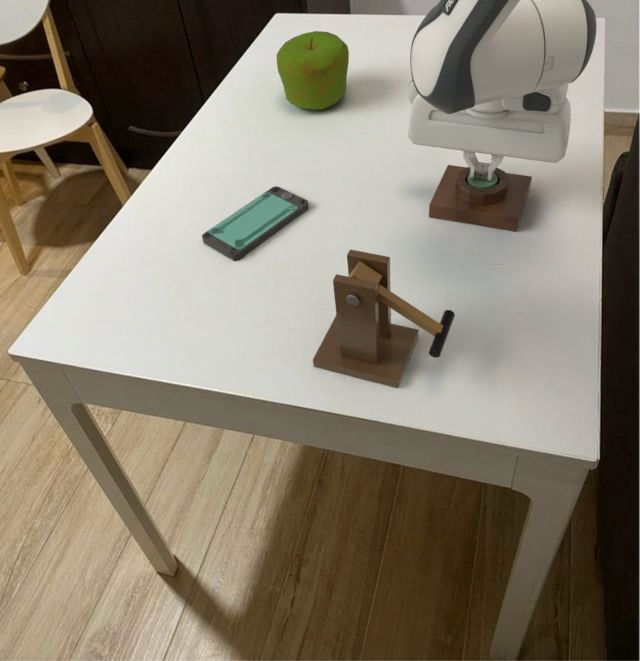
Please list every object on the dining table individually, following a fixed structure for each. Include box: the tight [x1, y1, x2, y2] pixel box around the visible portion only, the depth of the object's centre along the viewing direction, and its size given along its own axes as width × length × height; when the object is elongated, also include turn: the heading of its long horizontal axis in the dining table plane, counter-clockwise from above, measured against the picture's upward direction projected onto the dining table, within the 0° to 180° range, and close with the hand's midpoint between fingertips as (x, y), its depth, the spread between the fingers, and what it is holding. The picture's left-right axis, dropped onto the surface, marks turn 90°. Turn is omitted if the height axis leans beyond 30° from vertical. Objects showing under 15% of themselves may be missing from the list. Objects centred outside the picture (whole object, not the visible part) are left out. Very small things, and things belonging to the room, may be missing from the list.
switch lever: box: [347, 261, 456, 359], centre depth 68 cm, size 12×6×2 cm
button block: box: [428, 164, 533, 232], centre depth 91 cm, size 12×10×4 cm
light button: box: [467, 173, 498, 189], centre depth 90 cm, size 4×4×2 cm
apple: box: [276, 30, 350, 112], centre depth 113 cm, size 12×12×11 cm
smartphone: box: [201, 185, 310, 261], centre depth 93 cm, size 7×1×15 cm
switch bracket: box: [312, 249, 420, 389], centre depth 71 cm, size 10×8×13 cm
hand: (481, 177), depth 89 cm, fingers closed, pressing on light button
